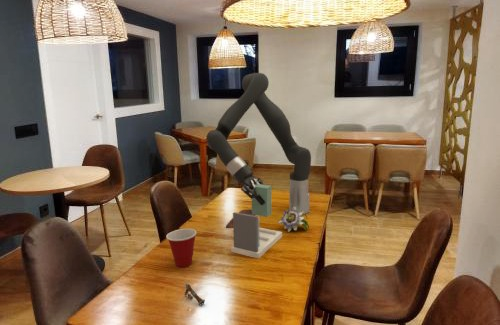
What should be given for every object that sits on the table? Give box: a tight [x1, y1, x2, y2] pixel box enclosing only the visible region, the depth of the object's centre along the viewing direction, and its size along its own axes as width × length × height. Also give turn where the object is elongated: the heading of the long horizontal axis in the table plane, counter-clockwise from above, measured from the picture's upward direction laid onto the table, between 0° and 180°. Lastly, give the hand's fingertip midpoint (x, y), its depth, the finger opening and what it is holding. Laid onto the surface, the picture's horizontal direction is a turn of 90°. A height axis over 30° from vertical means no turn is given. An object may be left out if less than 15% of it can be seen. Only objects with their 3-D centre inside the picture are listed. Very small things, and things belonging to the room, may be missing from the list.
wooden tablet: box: [225, 209, 256, 230], centre depth 175 cm, size 26×2×10 cm
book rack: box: [230, 211, 283, 259], centre depth 145 cm, size 22×12×16 cm, turn 152°
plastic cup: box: [165, 228, 197, 268], centre depth 131 cm, size 11×11×12 cm
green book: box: [251, 184, 273, 218], centre depth 147 cm, size 4×7×12 cm, turn 62°
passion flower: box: [277, 207, 310, 233], centre depth 161 cm, size 11×11×12 cm
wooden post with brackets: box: [184, 283, 206, 306], centre depth 110 cm, size 2×8×4 cm, turn 49°
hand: (265, 202), depth 146 cm, fingers closed on green book, 4 cm apart
